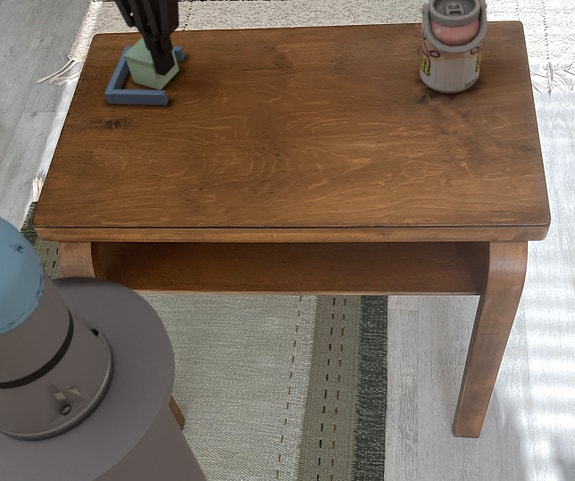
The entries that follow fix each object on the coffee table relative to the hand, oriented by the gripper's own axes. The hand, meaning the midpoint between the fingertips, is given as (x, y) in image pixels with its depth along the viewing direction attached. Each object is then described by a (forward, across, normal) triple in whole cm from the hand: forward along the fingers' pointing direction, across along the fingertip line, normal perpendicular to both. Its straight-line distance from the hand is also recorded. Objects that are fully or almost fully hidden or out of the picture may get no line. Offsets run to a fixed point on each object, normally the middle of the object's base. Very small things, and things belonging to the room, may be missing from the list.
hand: (166, 69), depth 109 cm
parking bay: (+3, +4, 0) cm, 5 cm away
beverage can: (+4, -37, -16) cm, 41 cm away
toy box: (+3, +3, -1) cm, 5 cm away
